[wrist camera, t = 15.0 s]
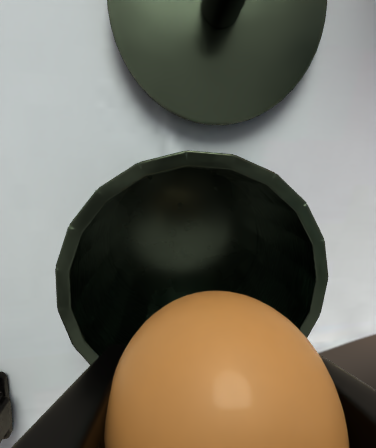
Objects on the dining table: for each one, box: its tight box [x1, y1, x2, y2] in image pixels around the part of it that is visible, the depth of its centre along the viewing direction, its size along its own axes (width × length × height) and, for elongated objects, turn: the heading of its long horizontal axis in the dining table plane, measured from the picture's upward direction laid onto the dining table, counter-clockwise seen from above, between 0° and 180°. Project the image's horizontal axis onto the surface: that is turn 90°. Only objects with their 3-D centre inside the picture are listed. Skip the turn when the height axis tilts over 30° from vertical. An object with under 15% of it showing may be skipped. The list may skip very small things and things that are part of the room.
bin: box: [55, 151, 328, 365], centre depth 15 cm, size 12×12×8 cm
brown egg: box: [104, 291, 349, 448], centre depth 6 cm, size 5×5×5 cm
